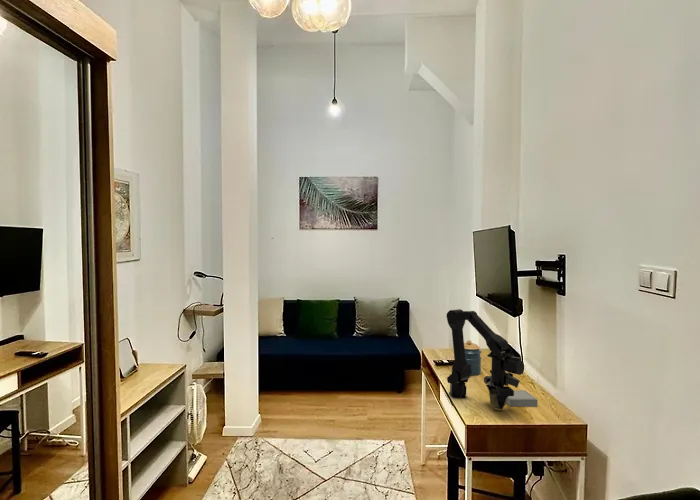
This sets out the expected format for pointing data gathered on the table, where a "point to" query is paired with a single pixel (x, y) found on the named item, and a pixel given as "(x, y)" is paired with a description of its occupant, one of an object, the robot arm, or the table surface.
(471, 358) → the canister
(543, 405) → the table surface
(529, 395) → the slate base
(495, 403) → the cup
